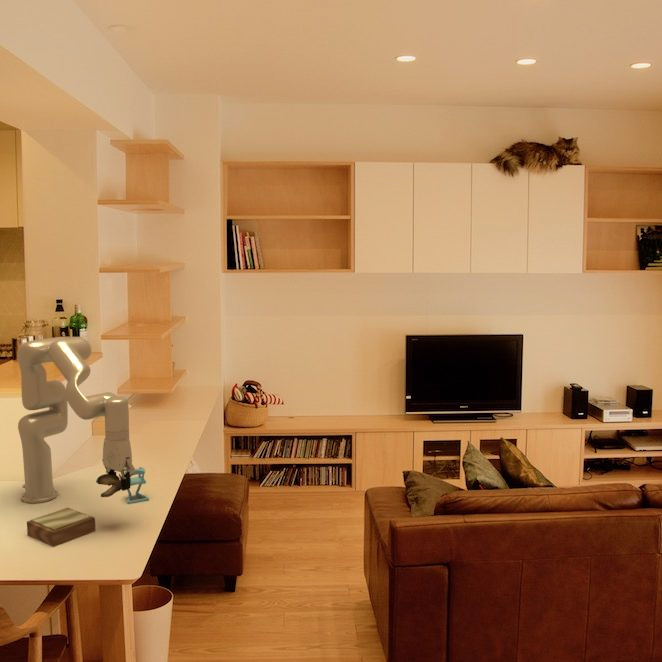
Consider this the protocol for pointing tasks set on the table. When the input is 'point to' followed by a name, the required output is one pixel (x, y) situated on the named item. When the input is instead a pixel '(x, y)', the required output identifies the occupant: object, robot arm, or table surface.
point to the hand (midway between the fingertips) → (119, 486)
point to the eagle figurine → (110, 480)
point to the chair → (139, 481)
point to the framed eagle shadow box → (60, 526)
